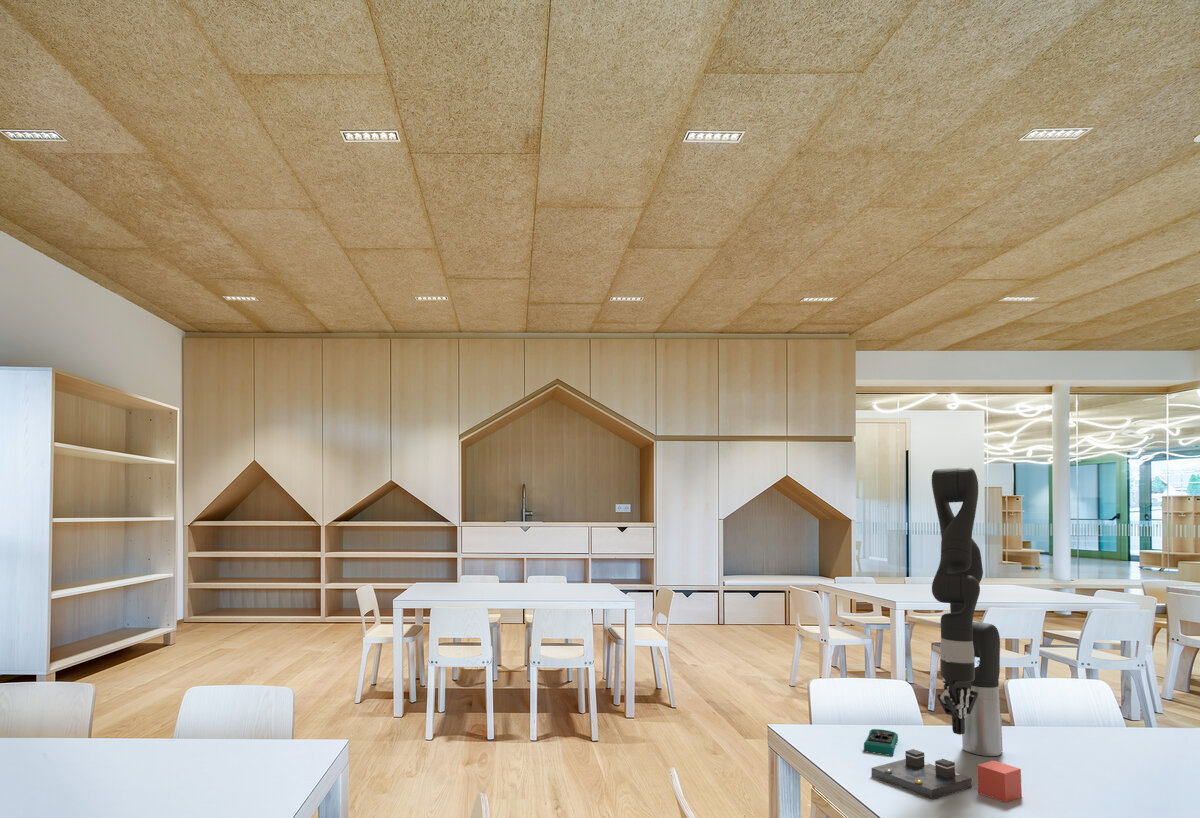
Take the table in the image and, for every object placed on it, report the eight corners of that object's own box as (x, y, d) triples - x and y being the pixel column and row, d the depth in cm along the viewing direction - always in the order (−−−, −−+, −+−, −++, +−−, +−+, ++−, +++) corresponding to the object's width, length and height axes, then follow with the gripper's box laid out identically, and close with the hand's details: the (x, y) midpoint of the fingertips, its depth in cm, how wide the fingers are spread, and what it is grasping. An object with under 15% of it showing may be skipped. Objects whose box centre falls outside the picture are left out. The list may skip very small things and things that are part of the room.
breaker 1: (913, 761, 188) (913, 749, 188) (924, 765, 185) (924, 752, 186) (905, 764, 186) (905, 751, 187) (916, 767, 184) (916, 754, 184)
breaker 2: (943, 772, 181) (942, 758, 182) (955, 776, 179) (955, 762, 179) (935, 774, 180) (934, 760, 180) (947, 778, 177) (947, 764, 177)
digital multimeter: (898, 742, 212) (898, 730, 212) (893, 757, 198) (893, 745, 199) (870, 738, 215) (870, 727, 215) (863, 753, 201) (863, 741, 202)
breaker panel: (911, 765, 191) (910, 754, 191) (972, 786, 178) (971, 775, 178) (871, 776, 183) (871, 765, 183) (932, 799, 170) (931, 787, 170)
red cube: (994, 787, 178) (993, 760, 178) (1021, 796, 172) (1020, 768, 173) (978, 792, 174) (977, 765, 175) (1005, 802, 169) (1004, 773, 169)
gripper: (959, 653, 192) (960, 726, 190) (926, 657, 185) (927, 732, 183) (988, 659, 186) (990, 734, 184) (954, 663, 179) (956, 741, 177)
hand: (958, 733), depth 183 cm, fingers closed
